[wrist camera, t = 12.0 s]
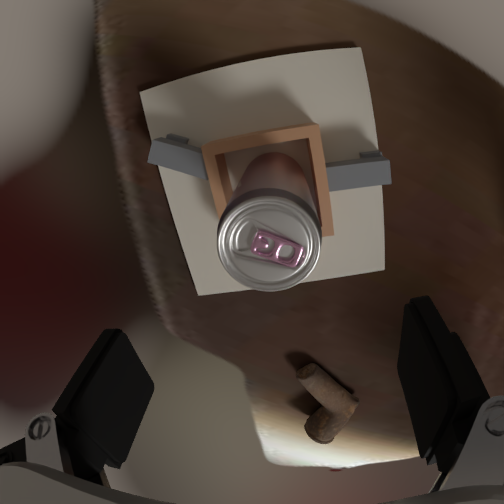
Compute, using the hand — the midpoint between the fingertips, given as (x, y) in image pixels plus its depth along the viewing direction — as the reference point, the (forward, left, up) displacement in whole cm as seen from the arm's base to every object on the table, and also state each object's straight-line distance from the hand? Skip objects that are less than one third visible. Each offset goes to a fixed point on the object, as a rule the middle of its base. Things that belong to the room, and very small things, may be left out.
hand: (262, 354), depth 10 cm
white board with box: (0, 0, -24) cm, 24 cm away
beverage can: (0, 0, -23) cm, 23 cm away
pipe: (-1, +34, -24) cm, 42 cm away
